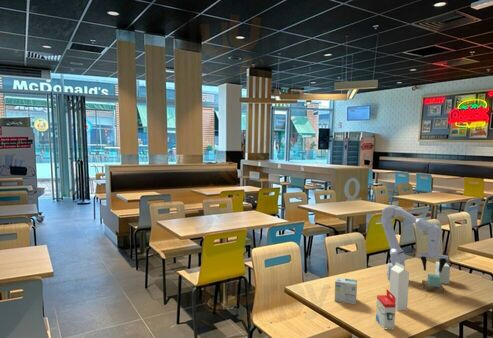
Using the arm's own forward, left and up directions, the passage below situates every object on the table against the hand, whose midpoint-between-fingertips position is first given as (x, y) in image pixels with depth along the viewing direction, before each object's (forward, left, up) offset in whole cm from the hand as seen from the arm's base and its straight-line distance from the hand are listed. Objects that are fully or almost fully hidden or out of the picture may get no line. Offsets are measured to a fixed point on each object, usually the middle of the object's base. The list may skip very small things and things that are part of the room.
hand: (432, 270), depth 188 cm
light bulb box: (-46, -30, -10) cm, 56 cm away
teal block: (+1, -1, -8) cm, 7 cm away
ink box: (-29, -49, -10) cm, 58 cm away
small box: (+8, +12, -10) cm, 18 cm away
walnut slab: (+1, -1, -11) cm, 11 cm away
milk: (-21, -30, -10) cm, 38 cm away
